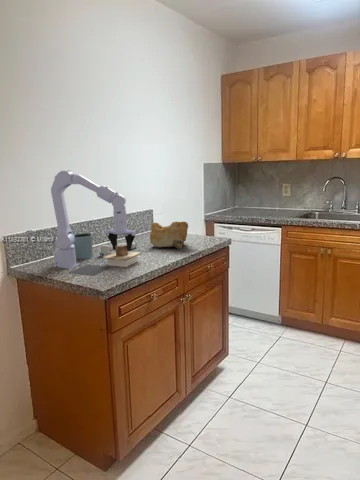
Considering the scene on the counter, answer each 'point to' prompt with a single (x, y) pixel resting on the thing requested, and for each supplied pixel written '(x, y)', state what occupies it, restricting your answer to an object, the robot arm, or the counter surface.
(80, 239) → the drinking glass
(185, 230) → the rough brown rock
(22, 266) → the counter surface
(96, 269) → the mat
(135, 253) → the lid
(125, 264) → the dish
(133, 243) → the toothpaste tube
